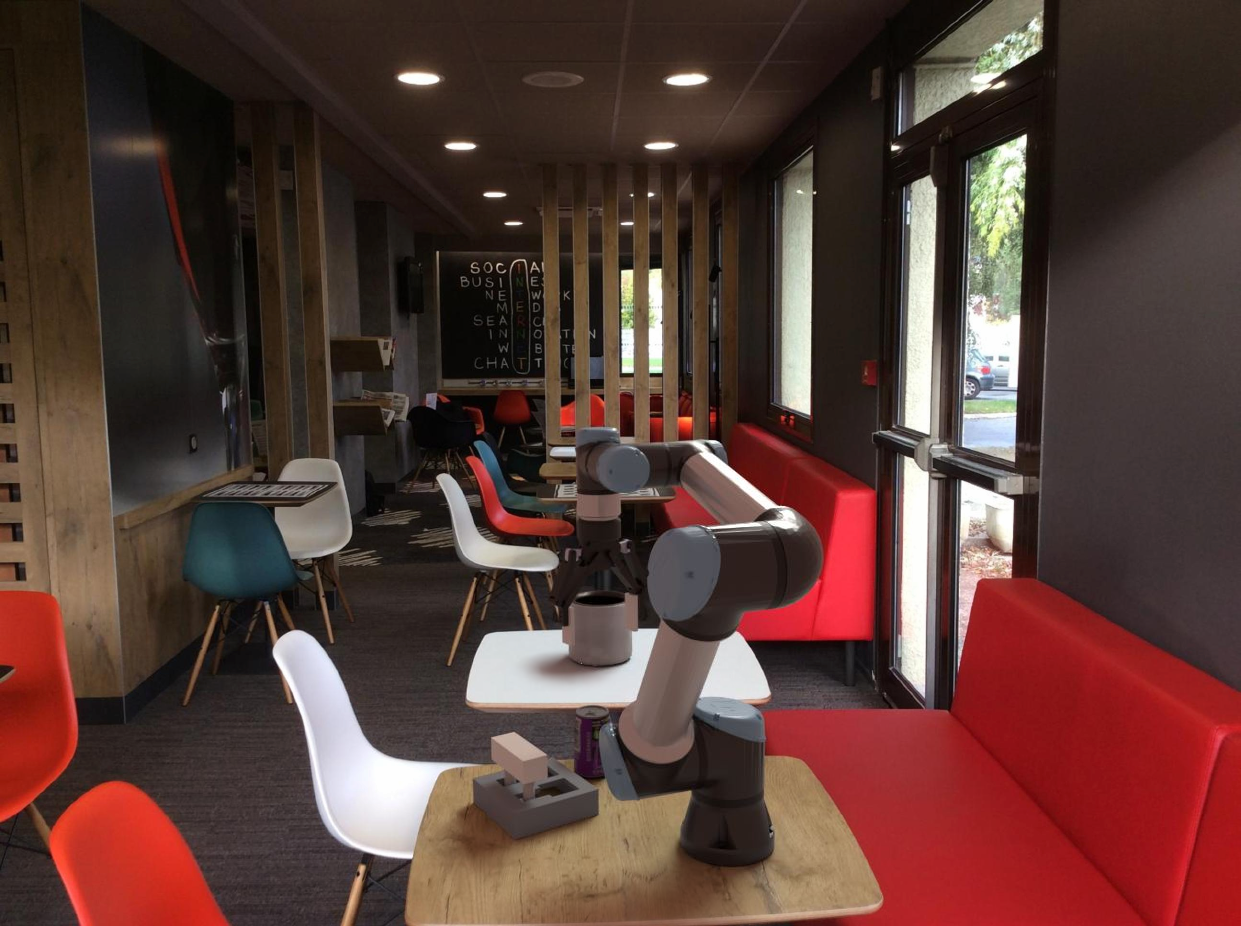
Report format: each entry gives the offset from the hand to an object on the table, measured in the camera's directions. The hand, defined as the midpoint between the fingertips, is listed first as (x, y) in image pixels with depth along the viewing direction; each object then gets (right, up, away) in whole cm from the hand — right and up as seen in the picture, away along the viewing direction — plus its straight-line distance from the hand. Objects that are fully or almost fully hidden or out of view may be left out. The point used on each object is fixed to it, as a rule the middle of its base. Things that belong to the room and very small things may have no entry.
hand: (600, 636), depth 182 cm
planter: (-2, -19, +80) cm, 83 cm away
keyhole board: (-11, -29, -1) cm, 32 cm away
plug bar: (-14, -30, -3) cm, 33 cm away
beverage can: (-2, -28, +13) cm, 31 cm away
